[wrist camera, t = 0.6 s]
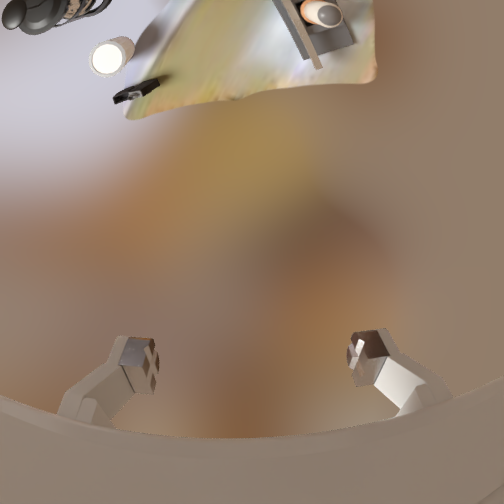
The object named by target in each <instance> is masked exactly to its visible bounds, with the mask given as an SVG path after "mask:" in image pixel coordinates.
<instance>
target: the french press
mask: <svg viewBox="0 0 504 504" xmlns="http://www.w3.org/2000/svg"><path fill="white" fill-rule="evenodd" d="M111 1H112V0H103V2H102V4H101V5H100V6H98V7H97V8H96V9H93V10H90V9H91V8H92V6H93V5H94V4H95V2H96V0H12V1H10V2H9V3H8V4H7V6H6V7H5V9H4V11H3V14H2V23H3V26H4V27H5V28H7V29H9V30H12V29H15V28H17V27H18V26H19V28H20V29H21V30H22V31H23V32H25V33H26V34H29V35H38V34H41V33H44V32H46V31H48V30H50V29H51V28H52V27H58V26H61V25H64V24H67V23H69V22H72V21H75V20H78V19H81V18H84V17H90V16H94V15H96V14H98V13H100V12H102V11H103V10H104V9H105V8H107V6H108V5H109V4H110V3H111ZM89 10H90V11H89ZM62 18H64V19H68V21H67V22H65V23H63V24H60V25H56V24H57V23H58V22H59V21H60V20H61V19H62Z"/></svg>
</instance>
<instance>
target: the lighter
mask: <svg viewBox="0 0 504 504" xmlns="http://www.w3.org/2000/svg"><path fill="white" fill-rule="evenodd" d="M158 86H160V84H159V81H158V79H153V80H148V81H144V82H142V83H141V84H139V85H138V86H136V87H134V86H133V87H130V88H127V89H124V90H122V91H120V92H118V93H117V94H116V95H115V96H114V97H113V100H114V103H115V104H118V103H121V102H123V101H126V100H133V99H134V98H137V97H143V96H145V95H146V94H149V93H150V92H152V90H153V89H155V88H156V87H158Z"/></svg>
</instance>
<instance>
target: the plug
mask: <svg viewBox="0 0 504 504" xmlns="http://www.w3.org/2000/svg"><path fill="white" fill-rule="evenodd" d="M298 11H299V13H300V15H301V16H302V17H303V18H304V19H305V20H306V21H307V22H310V23H312V24H319V25H321V26H324V27H327V28H333V27H336V26H338V25H339V24H340V23H341V21H342V19H343V14H342V11H341V9H340V8H339V7H338V6H337V5H335V4H333V3H328V2H325V1H323V0H304V1H302V2H301V3H300V4H299V6H298Z"/></svg>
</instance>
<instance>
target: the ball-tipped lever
mask: <svg viewBox="0 0 504 504" xmlns="http://www.w3.org/2000/svg"><path fill="white" fill-rule="evenodd" d="M281 2H282V3H283V5H284V7H285V9H286V11H287V13H288V14H289V16H290V18H291V20H292V22H293V24H294V26H295V28H296V30H297V32H298V34H299V36H300V38H301V40H302V42H303V44H304V46H305V48H306V50H307V52H308V55H309V57H310V59H311V61H312V63H313V66H314V68H315V69H316V70H317V69H320V68H323V67H322V65H321V62H320V60H319V58H318V55H317V53H316V51H315V49H314V47H313V44H312V42H311V40H310V38H309V36H308V34H307V32H306V30H305V28H304V26H303V24H302V22H301V20H300V18H299V16H298V14H297V12H296V10H295V8H294V6H293V4H292V2H291V1H290V0H281Z"/></svg>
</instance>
